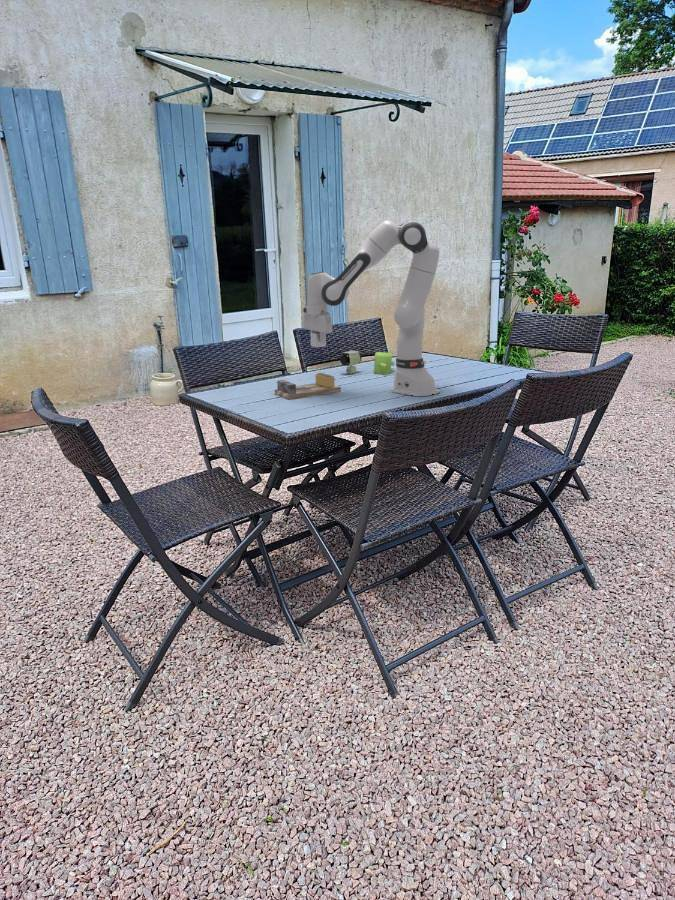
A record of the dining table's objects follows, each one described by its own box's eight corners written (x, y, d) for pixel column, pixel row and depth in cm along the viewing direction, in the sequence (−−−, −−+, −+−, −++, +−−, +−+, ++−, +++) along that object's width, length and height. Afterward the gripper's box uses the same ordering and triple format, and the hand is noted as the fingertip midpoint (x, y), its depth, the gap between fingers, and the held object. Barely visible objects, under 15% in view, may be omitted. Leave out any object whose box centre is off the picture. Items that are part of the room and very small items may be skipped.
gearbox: (393, 376, 332) (394, 357, 329) (373, 375, 333) (374, 357, 330) (394, 369, 349) (395, 351, 346) (375, 368, 350) (376, 350, 347)
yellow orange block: (334, 386, 299) (334, 375, 298) (326, 387, 297) (326, 376, 296) (323, 382, 308) (322, 372, 306) (315, 383, 306) (315, 373, 304)
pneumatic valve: (339, 374, 338) (339, 350, 334) (355, 370, 346) (355, 347, 342) (347, 375, 334) (347, 351, 330) (363, 372, 342) (363, 348, 338)
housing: (325, 346, 298) (325, 328, 296) (316, 347, 296) (315, 329, 293) (320, 344, 302) (320, 327, 300) (310, 345, 300) (310, 327, 297)
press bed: (340, 391, 299) (340, 378, 298) (289, 399, 287) (288, 386, 285) (324, 386, 311) (324, 373, 309) (274, 393, 298) (274, 380, 296)
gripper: (335, 311, 287) (336, 343, 291) (313, 307, 304) (313, 338, 308) (323, 312, 284) (323, 345, 288) (300, 308, 301) (301, 339, 305)
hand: (318, 341), depth 298 cm, fingers closed on housing, 5 cm apart
